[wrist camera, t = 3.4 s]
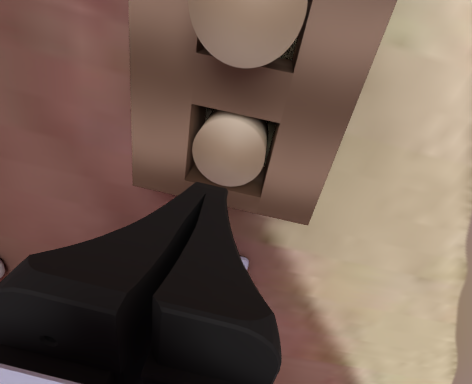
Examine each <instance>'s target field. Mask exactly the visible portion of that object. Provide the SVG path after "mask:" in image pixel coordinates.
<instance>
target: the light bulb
mask: <svg viewBox="0 0 472 384" xmlns="http://www.w3.org/2000/svg"><path fill="white" fill-rule="evenodd" d="M4 273H5V268H4V264H3V262H2V261H1V260H0V278H1V277H2V276H3V275H4Z"/></svg>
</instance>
